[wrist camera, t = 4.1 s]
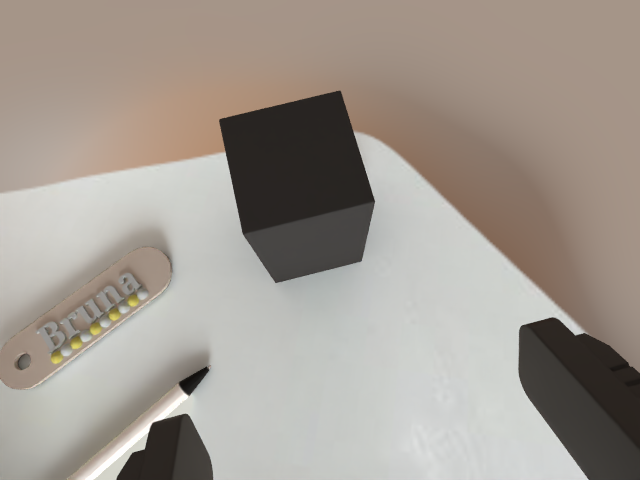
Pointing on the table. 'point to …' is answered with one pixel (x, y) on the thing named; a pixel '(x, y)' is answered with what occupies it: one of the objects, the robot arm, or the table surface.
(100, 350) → the table surface
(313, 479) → the table surface
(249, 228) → the pad block
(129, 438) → the pen
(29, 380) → the keychain
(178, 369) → the table surface
